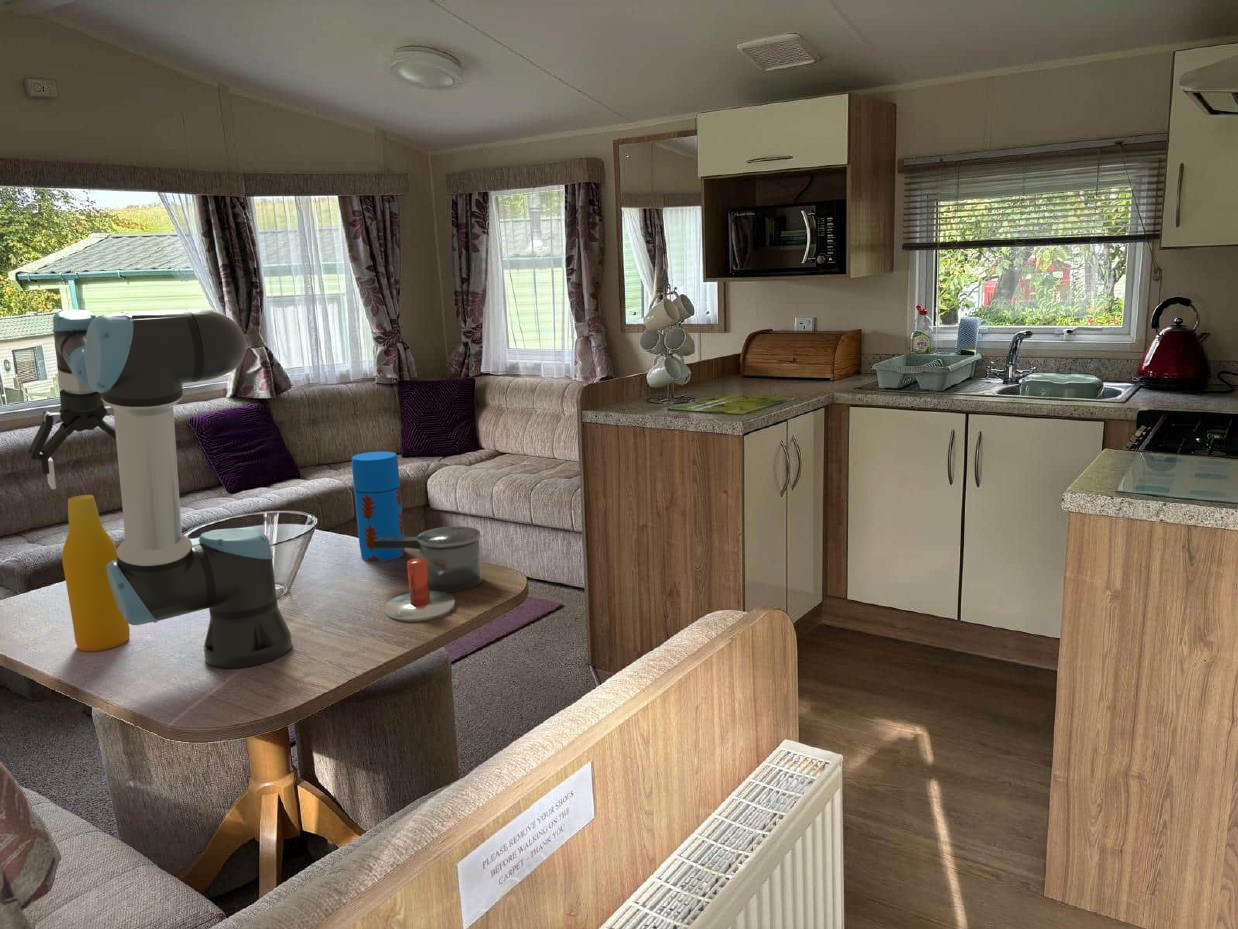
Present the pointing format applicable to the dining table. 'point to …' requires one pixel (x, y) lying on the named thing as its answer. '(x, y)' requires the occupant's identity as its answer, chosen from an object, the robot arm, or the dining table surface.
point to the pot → (445, 556)
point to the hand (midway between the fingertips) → (88, 480)
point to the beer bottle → (91, 579)
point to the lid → (419, 597)
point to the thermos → (377, 503)
